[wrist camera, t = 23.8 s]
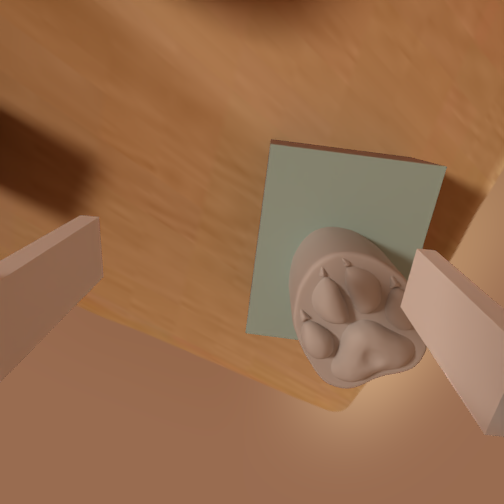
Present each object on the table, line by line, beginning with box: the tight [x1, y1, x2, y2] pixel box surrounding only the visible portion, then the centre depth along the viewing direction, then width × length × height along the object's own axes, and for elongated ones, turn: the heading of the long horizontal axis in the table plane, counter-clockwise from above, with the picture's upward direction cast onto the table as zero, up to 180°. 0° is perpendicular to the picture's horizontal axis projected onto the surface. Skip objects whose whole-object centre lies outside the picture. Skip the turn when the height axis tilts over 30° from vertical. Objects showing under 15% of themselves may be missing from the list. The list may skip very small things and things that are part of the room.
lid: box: [246, 143, 447, 340], centre depth 36 cm, size 20×16×1 cm
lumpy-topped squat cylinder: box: [289, 227, 427, 388], centre depth 33 cm, size 10×13×9 cm
